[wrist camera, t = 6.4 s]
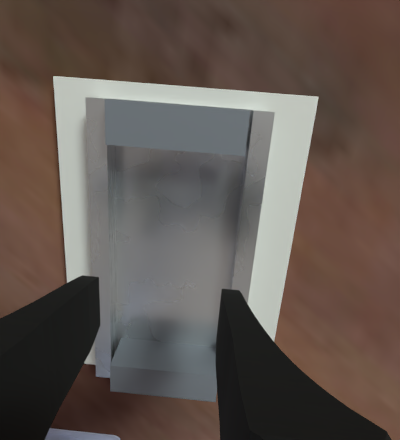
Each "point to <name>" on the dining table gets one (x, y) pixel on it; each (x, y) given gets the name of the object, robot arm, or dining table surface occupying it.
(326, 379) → the dining table surface
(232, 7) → the dining table surface
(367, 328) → the dining table surface
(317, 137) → the dining table surface
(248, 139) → the white flat tray
